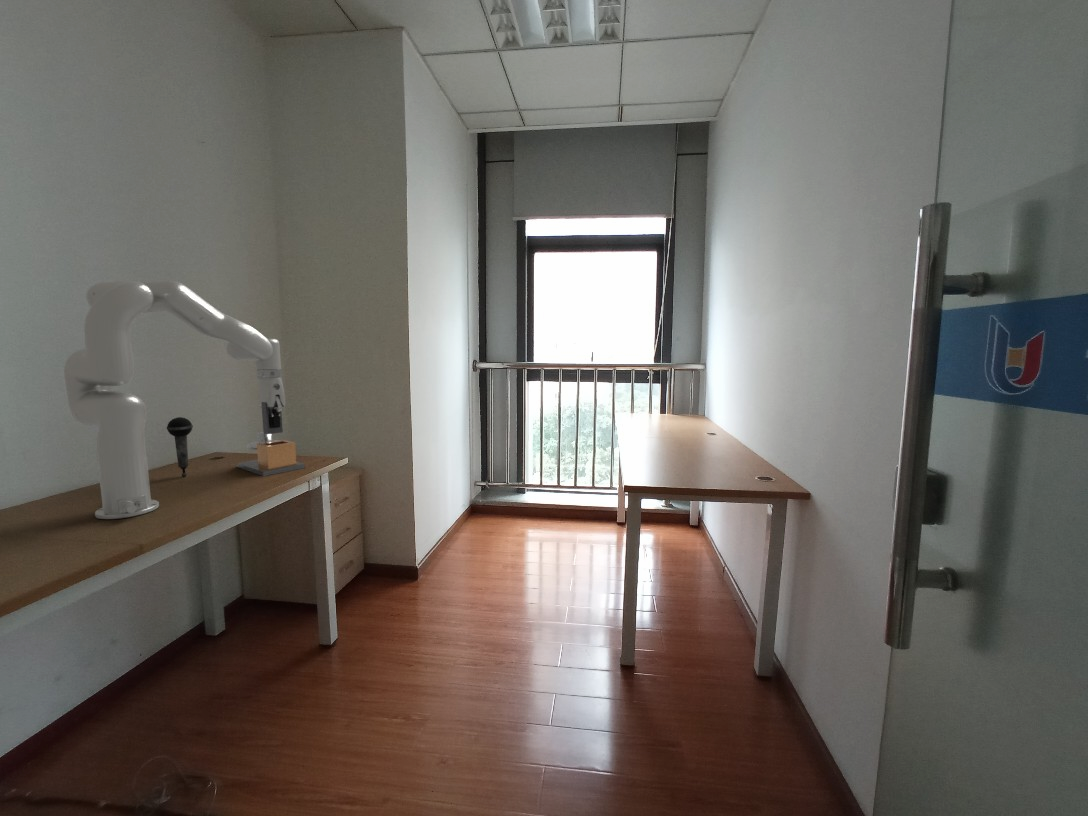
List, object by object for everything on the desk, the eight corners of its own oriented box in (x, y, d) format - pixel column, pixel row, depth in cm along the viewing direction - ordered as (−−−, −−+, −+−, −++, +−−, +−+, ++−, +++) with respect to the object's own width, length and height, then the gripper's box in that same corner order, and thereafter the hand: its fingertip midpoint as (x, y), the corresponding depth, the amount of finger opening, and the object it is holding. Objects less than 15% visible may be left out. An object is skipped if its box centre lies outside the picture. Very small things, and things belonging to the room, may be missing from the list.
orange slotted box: (304, 467, 169) (302, 433, 167) (263, 476, 158) (261, 439, 156) (277, 459, 181) (275, 427, 179) (237, 467, 169) (234, 433, 168)
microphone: (198, 472, 161) (193, 415, 158) (195, 477, 155) (190, 418, 153) (172, 475, 157) (167, 416, 155) (169, 480, 152) (163, 419, 149)
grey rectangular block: (282, 432, 165) (280, 401, 164) (267, 434, 161) (265, 402, 160) (278, 431, 167) (276, 400, 165) (263, 433, 163) (261, 401, 161)
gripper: (292, 375, 160) (295, 428, 162) (269, 373, 169) (272, 423, 171) (269, 376, 154) (272, 431, 156) (246, 374, 163) (250, 426, 165)
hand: (272, 426), depth 164 cm, fingers closed on grey rectangular block, 3 cm apart
